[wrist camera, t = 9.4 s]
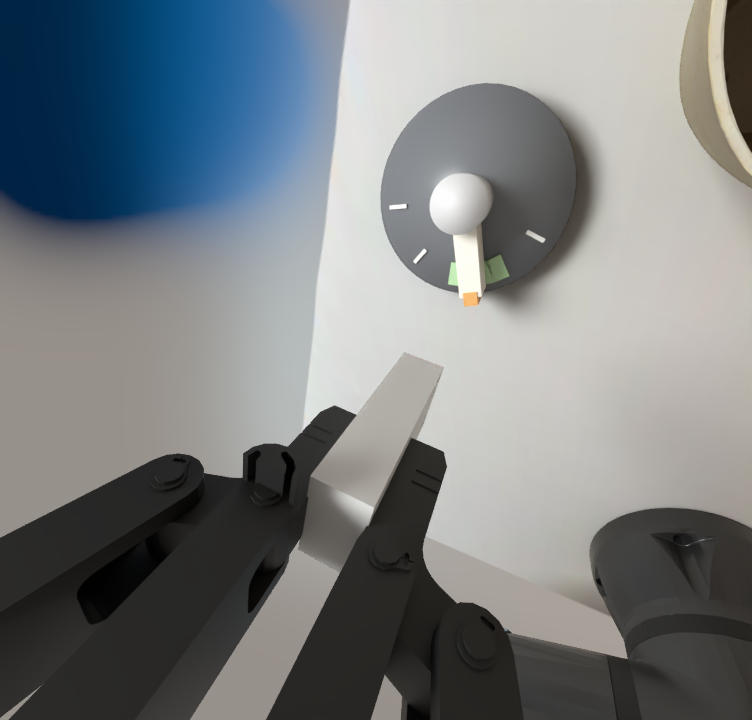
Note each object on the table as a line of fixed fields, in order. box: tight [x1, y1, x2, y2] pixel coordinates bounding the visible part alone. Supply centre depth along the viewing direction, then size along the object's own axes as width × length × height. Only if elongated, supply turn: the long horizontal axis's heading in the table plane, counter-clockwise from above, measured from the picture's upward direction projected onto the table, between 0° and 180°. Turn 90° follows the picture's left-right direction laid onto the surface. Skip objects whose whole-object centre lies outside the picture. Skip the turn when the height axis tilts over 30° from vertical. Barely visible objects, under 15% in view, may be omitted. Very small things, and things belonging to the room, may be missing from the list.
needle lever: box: [430, 173, 494, 306], centre depth 26 cm, size 9×4×4 cm, turn 11°
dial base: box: [381, 83, 576, 292], centre depth 28 cm, size 14×14×2 cm
